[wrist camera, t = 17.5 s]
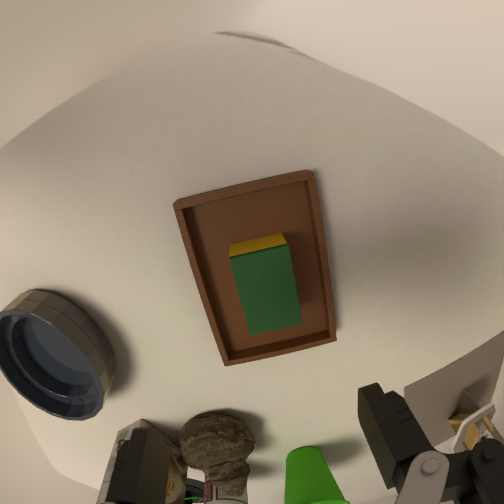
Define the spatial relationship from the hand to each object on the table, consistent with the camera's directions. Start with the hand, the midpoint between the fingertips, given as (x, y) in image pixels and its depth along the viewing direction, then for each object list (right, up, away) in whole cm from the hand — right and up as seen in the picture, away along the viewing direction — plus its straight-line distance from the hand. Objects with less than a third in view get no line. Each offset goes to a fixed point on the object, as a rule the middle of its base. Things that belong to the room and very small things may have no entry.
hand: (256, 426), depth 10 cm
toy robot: (-12, -36, +31) cm, 49 cm away
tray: (+1, +5, +18) cm, 18 cm away
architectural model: (+34, -19, +28) cm, 48 cm away
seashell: (-5, -15, +24) cm, 29 cm away
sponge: (+1, +4, +17) cm, 18 cm away
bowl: (-23, -5, +19) cm, 30 cm away
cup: (+7, -24, +28) cm, 37 cm away
